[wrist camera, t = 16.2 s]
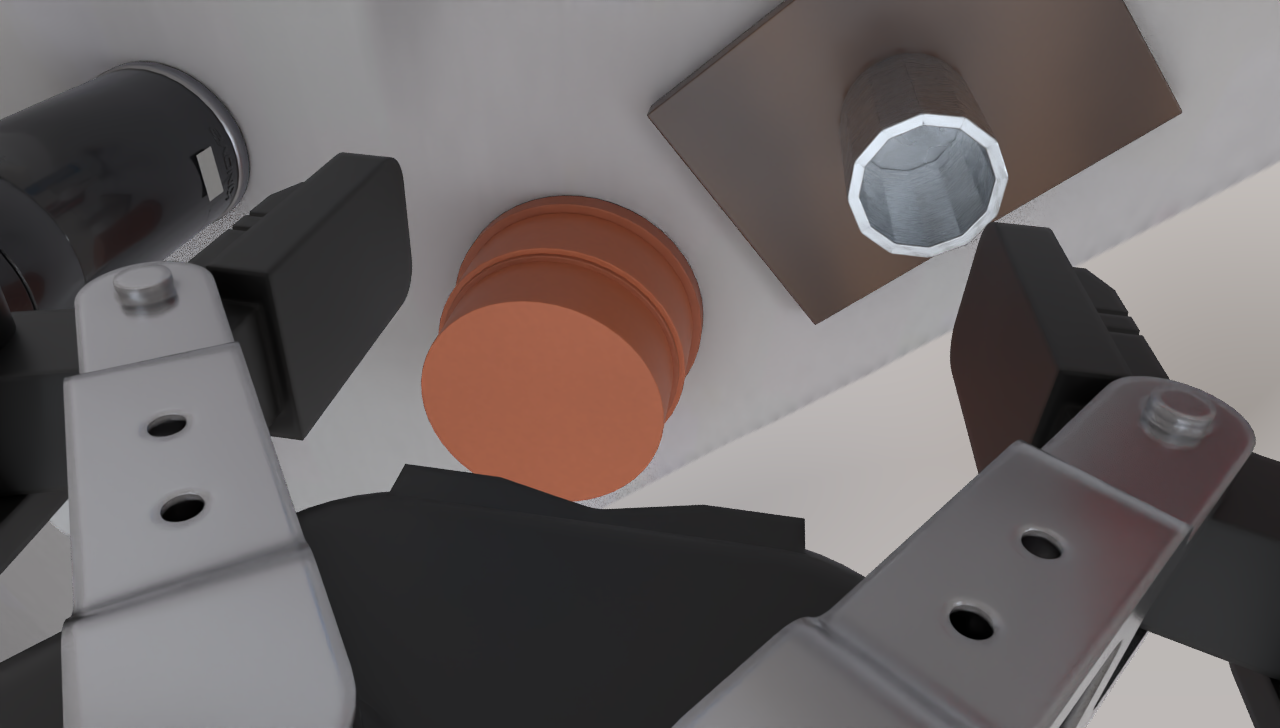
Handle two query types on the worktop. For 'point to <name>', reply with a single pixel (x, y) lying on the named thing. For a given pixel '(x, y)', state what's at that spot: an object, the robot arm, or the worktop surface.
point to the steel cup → (919, 157)
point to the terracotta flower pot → (563, 347)
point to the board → (831, 62)
